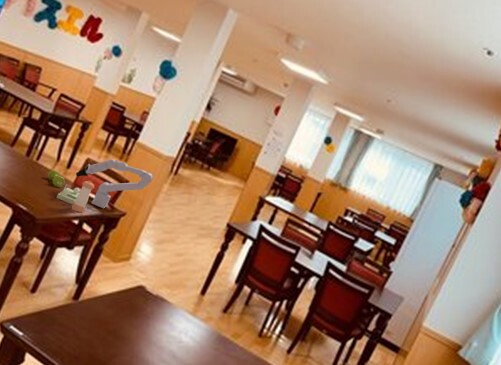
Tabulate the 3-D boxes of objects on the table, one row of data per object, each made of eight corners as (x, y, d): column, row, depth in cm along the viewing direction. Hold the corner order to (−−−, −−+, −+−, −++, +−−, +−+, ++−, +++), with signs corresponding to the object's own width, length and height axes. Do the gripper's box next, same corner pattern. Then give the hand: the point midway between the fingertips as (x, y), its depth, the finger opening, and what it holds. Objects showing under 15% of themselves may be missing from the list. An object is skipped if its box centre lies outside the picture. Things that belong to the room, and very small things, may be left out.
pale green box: (85, 199, 341) (92, 186, 341) (78, 206, 318) (84, 192, 317) (65, 191, 339) (71, 177, 338) (56, 197, 316) (62, 182, 315)
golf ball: (78, 194, 336) (81, 188, 336) (77, 195, 333) (80, 189, 332) (73, 191, 336) (75, 186, 335) (71, 192, 332) (74, 187, 331)
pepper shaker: (70, 209, 307) (83, 180, 305) (71, 206, 313) (84, 177, 312) (82, 213, 309) (95, 184, 307) (83, 210, 316) (96, 182, 314)
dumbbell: (63, 189, 342) (67, 179, 341) (51, 185, 336) (55, 175, 336) (56, 180, 354) (60, 171, 353) (45, 177, 349) (49, 167, 348)
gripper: (98, 160, 346) (78, 166, 346) (93, 163, 332) (72, 169, 331) (101, 170, 347) (82, 176, 347) (97, 173, 333) (76, 180, 333)
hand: (77, 173), depth 339 cm, fingers open, 7 cm apart
